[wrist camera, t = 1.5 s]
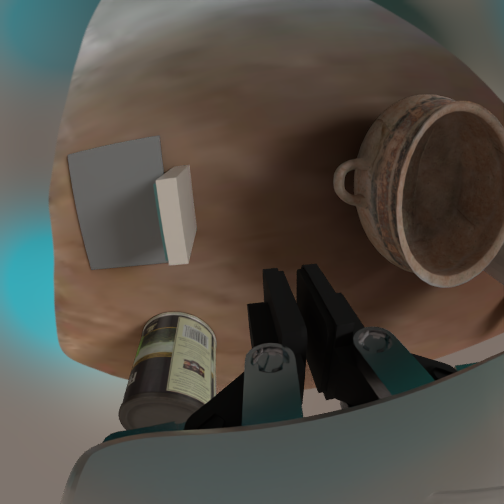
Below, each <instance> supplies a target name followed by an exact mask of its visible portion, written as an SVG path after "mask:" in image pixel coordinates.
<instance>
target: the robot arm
mask: <svg viewBox="0 0 504 504" xmlns="http://www.w3.org/2000/svg"><path fill="white" fill-rule="evenodd" d="M484 271H485V272H486V273H488V274H489V275H491V276H492V277H493V278H495V279H496V280H497V281H499V282H500V283H501V284H503V285H504V243H503V245H502V247H501V248H500V250H499V251H498V253H497V255H496V256H495V257H494V259H493V260H492V261H491V262H490V264H489V265H488V266H487V267H486V268H485V269H484ZM263 288H264V302H261V303H252V304H247V308H248V320H249V330H250V338H251V345H252V349H251V350H250V351H249V352H248V353H247V355H246V358H245V371H244V372H243V373H242V374H241V375H240V376H239V377H237V378H236V379H235V380H234V381H233V382H231V383H230V384H229V385H228V386H227V387H225V388H224V389H223V390H222V391H221V392H219V393H218V394H217V395H216V396H214V397H213V398H212V399H211V400H209V401H208V402H207V403H206V404H204V405H203V406H202V407H201V408H199V409H198V410H197V411H196V412H194V413H193V414H192V415H191V416H190V417H189V418H188V419H187V421H186V422H183V423H179V424H176V422H175V421H172V422H168V423H163V424H158V425H153V426H148V427H143V428H137V429H131V430H126V431H119V432H115V433H112V434H110V435H109V436H107V437H106V438H105V439H104V441H103V442H102V443H101V444H98V445H96V446H94V447H92V448H91V449H89V450H87V451H86V452H85V453H84V454H83V455H82V456H81V457H80V458H79V459H78V460H77V462H76V463H75V465H74V467H73V469H72V471H71V473H70V476H69V478H68V481H67V483H66V486H65V489H64V493H63V496H62V500H61V504H504V351H503V352H501V353H499V354H496V355H494V356H491V357H489V358H487V359H485V360H483V361H481V362H476V363H470V364H463V365H456V366H455V367H454V368H453V367H451V366H450V365H448V364H445V363H442V362H438V361H435V360H432V359H428V358H425V357H422V356H418V355H415V354H412V353H410V352H409V351H408V350H407V349H406V348H405V346H404V345H403V344H402V343H401V342H400V341H399V340H398V339H397V338H396V337H395V336H394V335H393V334H392V333H391V332H390V331H388V330H386V329H384V328H380V327H366V328H365V327H364V326H363V324H362V323H361V321H360V320H359V318H358V317H357V315H356V314H355V312H354V311H353V309H352V308H351V306H350V305H349V303H348V302H347V300H346V299H345V297H344V296H343V295H342V294H341V293H336V292H335V291H334V289H333V288H332V286H331V285H330V283H329V282H328V280H327V279H326V277H325V276H324V274H323V273H322V271H321V270H320V268H319V267H318V265H317V264H309V265H302V267H301V269H297V303H296V301H295V298H294V296H293V294H292V291H291V289H290V286H289V284H288V282H287V279H286V277H285V274H284V272H283V271H278V269H277V268H271V269H263ZM306 359H307V362H308V365H309V368H310V370H311V373H312V376H313V379H314V382H315V385H316V388H317V390H318V392H319V393H321V392H323V393H324V396H325V399H326V400H329V399H334V398H336V399H338V400H340V405H341V408H342V410H337V411H333V412H328V413H324V414H319V415H314V416H309V417H303V411H302V401H303V392H304V380H305V367H306Z"/></svg>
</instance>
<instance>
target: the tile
mask: <svg viewBox="0 0 504 504" xmlns="http://www.w3.org/2000/svg"><path fill="white" fill-rule="evenodd" d="M153 186H154V194H155V200H156V207H157V214H158V220H159V226H160V232H161V237H162V243H163V248H164V254H165V259H166V261H169V265H179V264H188V263H189V259H190V255H191V250H192V246H193V242H194V238H195V234H196V230H197V226H196V218H195V210H194V202H193V193H192V184H191V175H190V166H189V165H183V166H176V167H173V168H172V169H170V170H169V171H168V172H166V173H165V174H163V175H162V176H161V177H159V178H158V179H157V180H156V182H155V183H154V184H153Z"/></svg>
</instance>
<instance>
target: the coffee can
mask: <svg viewBox="0 0 504 504" xmlns="http://www.w3.org/2000/svg"><path fill="white" fill-rule="evenodd" d="M214 396H216V338H215V335H214V333H213V331H212V330H211V328H210V327H209V326H208V325H207V324H206V323H205V322H203V321H202V320H201V319H199V318H197V317H195V316H193V315H190V314H187V313H182V312H166V313H162V314H159V315H157V316H155V317H153V318H152V319H150V320H149V321H148V322H147V324H146V325H145V327H144V329H143V332H142V337H141V341H140V344H139V347H138V350H137V354H136V357H135V360H134V364H133V367H132V371H131V374H130V377H129V381H128V384H127V388H126V392H125V395H124V399H123V403H122V404H121V407H120V409H119V420H120V422H121V424H122V425H123V427H124V428H125V429H126V430H131V429H137V428H143V427H148V426H153V425H158V424H163V423H168V422H172V421H175V422H176V424H179V423H183V422H186V421H187V419H188V418H189V417H190V416H191V415H192V414H193V413H194V412H196V411H197V410H198V409H199V408H201V407H202V406H203V405H204V404H206V403H207V402H208V401H209V400H211V399H212V398H213V397H214Z"/></svg>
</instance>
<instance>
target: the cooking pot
mask: <svg viewBox="0 0 504 504" xmlns="http://www.w3.org/2000/svg"><path fill="white" fill-rule="evenodd" d="M351 170H355V173H354V194H355V195H352V194H350V193H348V192H347V191H346V190H345V187H344V180H345V175H346V174H347V173H348V172H349V171H351ZM333 185H334V190H335V192H336V194H337V195H338V196H339V198H340V199H342V200H343V201H344V202H346V203H348V204H350V205H354V206H356V208H357V212H358V215H359V218H360V221H361V225H362V227H363V229H364V231H365V233H366V235H367V237H368V239H369V240H370V242H371V243H372V244H373V246H374V247H375V248H376V250H377V251H378V252H379V253H380V254H381V255H382V256H384V257H385V258H386V259H387V260H388V261H389V262H391V263H392V264H394V265H396V266H398V267H399V268H401V269H403V270H406V271H409V272H412V273H415V274H416V275H417V276H418V277H419V278H420V279H421V280H423V281H424V282H426V283H428V284H430V285H432V286H437V287H454V286H457V285H461V284H463V283H465V282H467V281H469V280H471V279H472V278H474V277H475V276H477V275H478V274H479V273H481V272H482V271H483V270H484V269H485V268H486V267H487V266H488V265H489V264H490V262H491V261H492V260H493V259H494V257H495V256H496V255H497V253H498V251H499V250H500V248H501V247H502V245H503V243H504V128H503V126H502V125H501V123H500V122H499V121H498V119H497V118H496V117H495V116H494V115H493V114H492V113H491V112H490V111H489V110H487V109H486V108H484V107H482V106H481V105H479V104H476V103H473V102H469V101H455V100H452V99H450V98H447V97H442V96H438V95H433V94H430V95H415V96H411V97H408V98H404V99H402V100H400V101H398V102H396V103H395V104H393V105H391V106H390V107H388V108H387V109H386V110H385V111H384V112H383V113H382V114H381V115H380V116H379V117H378V118H377V119H376V120H375V122H374V123H373V124H372V126H371V127H370V128H369V130H368V132H367V134H366V136H365V138H364V140H363V142H362V144H361V147H360V150H359V153H358V156H357V159H352V160H348V161H346V162H344V163H342V164H341V165H339V166H338V168H337V169H336V171H335V173H334V179H333Z"/></svg>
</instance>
